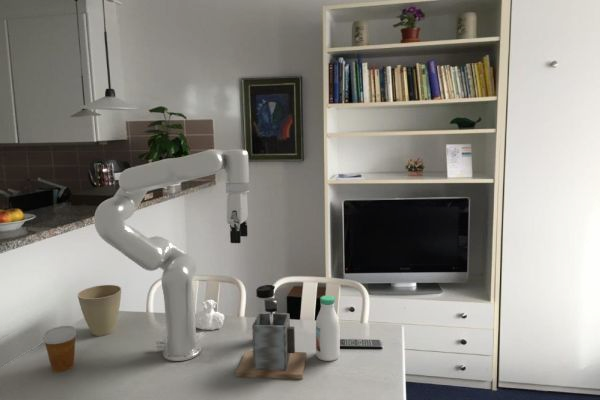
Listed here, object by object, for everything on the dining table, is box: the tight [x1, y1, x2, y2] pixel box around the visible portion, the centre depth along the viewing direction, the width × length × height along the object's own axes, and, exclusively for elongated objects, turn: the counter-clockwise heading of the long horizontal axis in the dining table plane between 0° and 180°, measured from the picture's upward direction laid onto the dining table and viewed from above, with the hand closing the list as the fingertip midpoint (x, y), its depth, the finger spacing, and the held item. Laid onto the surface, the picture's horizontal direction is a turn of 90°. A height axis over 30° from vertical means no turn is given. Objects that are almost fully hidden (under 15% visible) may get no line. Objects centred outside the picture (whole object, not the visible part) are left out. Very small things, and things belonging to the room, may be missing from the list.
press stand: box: [235, 312, 307, 380], centre depth 142 cm, size 20×14×16 cm
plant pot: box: [77, 284, 122, 337], centre depth 170 cm, size 15×15×16 cm
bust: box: [195, 299, 225, 331], centre depth 174 cm, size 12×8×11 cm
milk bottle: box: [315, 295, 341, 362], centre depth 148 cm, size 8×8×20 cm
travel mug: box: [255, 284, 276, 316], centre depth 160 cm, size 6×7×20 cm
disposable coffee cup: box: [42, 325, 78, 373], centre depth 144 cm, size 10×10×12 cm
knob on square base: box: [264, 297, 278, 325], centre depth 141 cm, size 8×8×17 cm
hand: (239, 239), depth 150 cm, fingers open, 9 cm apart
